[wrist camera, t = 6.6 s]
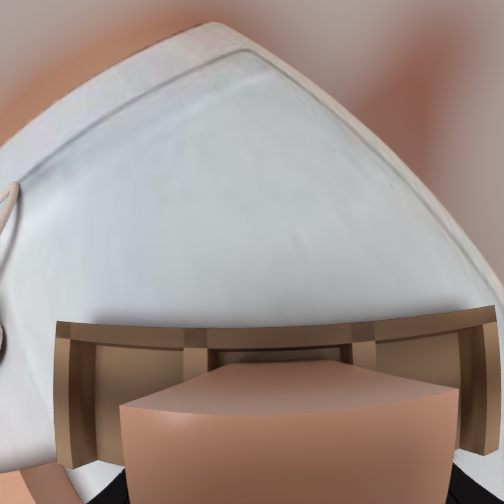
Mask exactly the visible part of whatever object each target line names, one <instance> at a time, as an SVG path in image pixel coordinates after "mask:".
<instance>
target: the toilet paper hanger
mask: <svg viewBox="0 0 504 504" xmlns="http://www.w3.org/2000/svg"><path fill="white" fill-rule="evenodd" d="M18 191H19V184H18V183H17V182H12V183H11V184H10V185H9V186H8V187H7V188H6V189H5V190H4V191H3V192H2V193H1V194H0V203H1V202H2V201H3V200H4V198H5V197H6V196H7V195H8V194H9V193H10V194H9V196H8V199H7V202H6V204H5V206H4V208H3V211H2V213H1V215H0V235H1V233H2V231H3V229H4V227H5V225H6V223H7V221H8V219H9V217H10V215H11V212H12V210H13V207H14V205H15V202H16V199H17V196H18ZM2 332H3V330H2V327H1V324H0V348H1V343H2Z"/></svg>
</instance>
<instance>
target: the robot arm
mask: <svg viewBox="0 0 504 504" xmlns="http://www.w3.org/2000/svg"><path fill="white" fill-rule="evenodd" d="M87 504H130V498H129V492H128V486H127V479H126V472H125V468H124V469H123V470H122V473H119V474H118V476H117V477H116V478H115V479H114V480H113V481H112V482H111V483H110V484H109V485H108V486H107V487H106V488H105V489H104V490H102V491H101V492H100V493H99V494H98V495H97V496H95V497H94V498H93V499H92V500H90V501H89V502H88V503H87ZM445 504H504V501H502V500H500V499H499V498H497V497H496V496H495V495H493V494H492V493H490V492H489V491H488V490H486V489H485V488H483V487H482V486H481V485H479V484H478V483H477V482H475V481H474V480H473V479H472V478H470V477H469V476H468V475H466V474H465V473H464V472H463V471H462V470H461V469H460V468H459V467H458V466H457V465H455V464H454V463H453V464H452V470H451V477H450V482H449V488H448V493H447V497H446V502H445Z"/></svg>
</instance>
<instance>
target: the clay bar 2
mask: <svg viewBox="0 0 504 504" xmlns="http://www.w3.org/2000/svg"><path fill="white" fill-rule="evenodd" d="M458 399H459V389H457V388H451V387H446V386H441V385H436V384H431V383H426V382H421V381H416V380H412V379H407V378H403V377H398V376H394V375H389V374H385V373H381V372H377V371H373V370H369V369H365V368H361V367H357V366H353V365H349V364H346V363H342V362H338V361H334V360H331V359H327V358H322V359H307V360H287V361H252V362H231V363H229V364H227V365H224V366H222V367H220V368H217V369H215V370H213V371H210V372H208V373H205V374H203V375H200V376H198V377H195V378H193V379H190V380H188V381H185V382H183V383H180V384H178V385H175V386H172V387H170V388H167V389H164V390H162V391H159V392H156V393H154V394H151V395H148V396H145V397H142V398H139V399H137V400H134V401H131V402H128V403H125V404H122V405H119V408H120V423H121V435H122V446H123V455H124V464H125V472H126V479H127V486H128V492H129V498H130V504H445V502H446V497H447V493H448V488H449V482H450V477H451V470H452V464H453V457H454V449H455V440H456V430H457V418H458Z"/></svg>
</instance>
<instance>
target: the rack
mask: <svg viewBox="0 0 504 504" xmlns="http://www.w3.org/2000/svg"><path fill="white" fill-rule="evenodd" d="M322 358H327V359H331V360H334V361H338V362H342V363H346V364H349V365H353V366H357V367H361V368H365V369H369V370H373V371H377V372H381V373H385V374H389V375H394V376H398V377H403V378H407V379H412V380H416V381H421V382H426V383H431V384H436V385H441V386H446V387H451V388H457V389H459V399H458V418H457V430H456V440H455V449H454V450H456V449H459V448H460V449H463V450H466V451H469V452H473V453H476V454H479V455H482V456H485V455H487V454H490V453H492V452H494V451H496V450H498V447H499V436H500V420H501V366H500V350H499V338H498V328H497V320H496V312H495V305H491V306H485V307H480V308H473V309H467V310H461V311H454V312H447V313H440V314H432V315H424V316H416V317H407V318H398V319H389V320H378V321H368V322H356V323H343V324H328V325H312V326H292V327H264V328H163V327H136V326H116V325H100V324H86V323H74V322H62V321H57V323H56V335H55V350H54V377H53V402H54V428H55V442H56V453H57V463H58V464H59V465H62V466H65V467H68V468H71V469H75V468H78V467H81V466H83V465H86V464H89V463H91V462H94V461H96V460H100V461H104V462H108V463H112V464H116V465H120V466H125V464H124V455H123V446H122V435H121V423H120V408H119V405H122V404H125V403H128V402H131V401H134V400H137V399H139V398H142V397H145V396H148V395H151V394H154V393H156V392H159V391H162V390H164V389H167V388H170V387H172V386H175V385H178V384H180V383H183V382H185V381H188V380H190V379H193V378H195V377H198V376H200V375H203V374H205V373H208V372H210V371H213V370H215V369H217V368H220V367H222V366H224V365H227V364H229V363H231V362H252V361H287V360H307V359H322Z"/></svg>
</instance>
